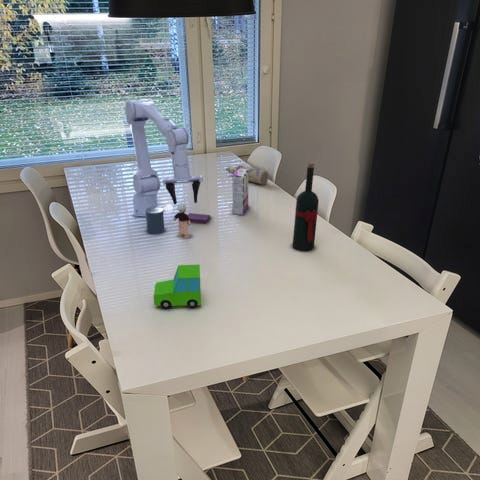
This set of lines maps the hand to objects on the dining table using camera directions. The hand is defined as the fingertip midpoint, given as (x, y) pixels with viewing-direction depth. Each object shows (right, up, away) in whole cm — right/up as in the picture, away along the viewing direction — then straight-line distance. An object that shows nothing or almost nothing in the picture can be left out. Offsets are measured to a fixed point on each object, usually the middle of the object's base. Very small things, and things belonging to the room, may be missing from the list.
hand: (185, 203), depth 178 cm
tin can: (-12, -9, +9) cm, 18 cm away
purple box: (+3, -2, +20) cm, 20 cm away
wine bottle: (+43, -17, -3) cm, 47 cm away
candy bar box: (+20, +4, +30) cm, 36 cm away
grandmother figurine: (-1, -11, +5) cm, 13 cm away
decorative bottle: (+24, +29, +69) cm, 79 cm away
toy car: (+2, -38, -37) cm, 53 cm away
